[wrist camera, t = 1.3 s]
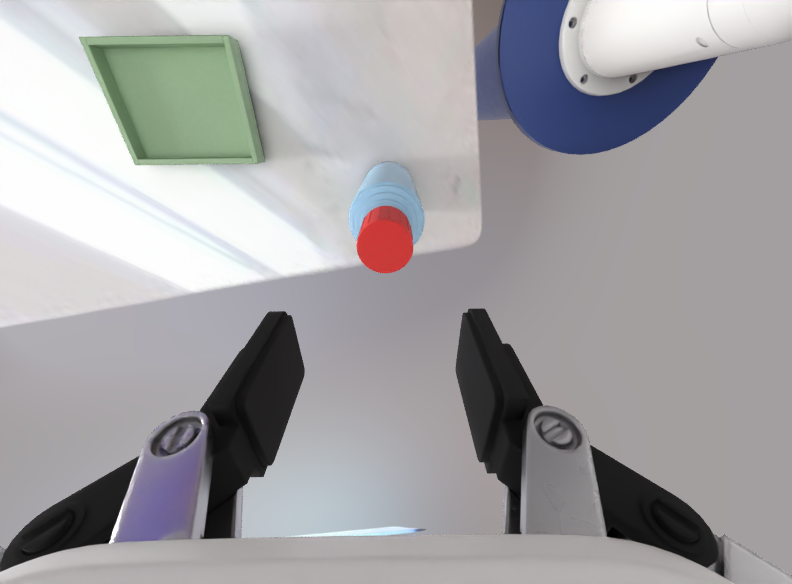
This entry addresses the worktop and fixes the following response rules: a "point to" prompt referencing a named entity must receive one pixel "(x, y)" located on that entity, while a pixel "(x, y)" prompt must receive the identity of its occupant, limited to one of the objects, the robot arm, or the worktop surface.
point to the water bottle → (387, 197)
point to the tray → (178, 98)
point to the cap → (385, 240)
